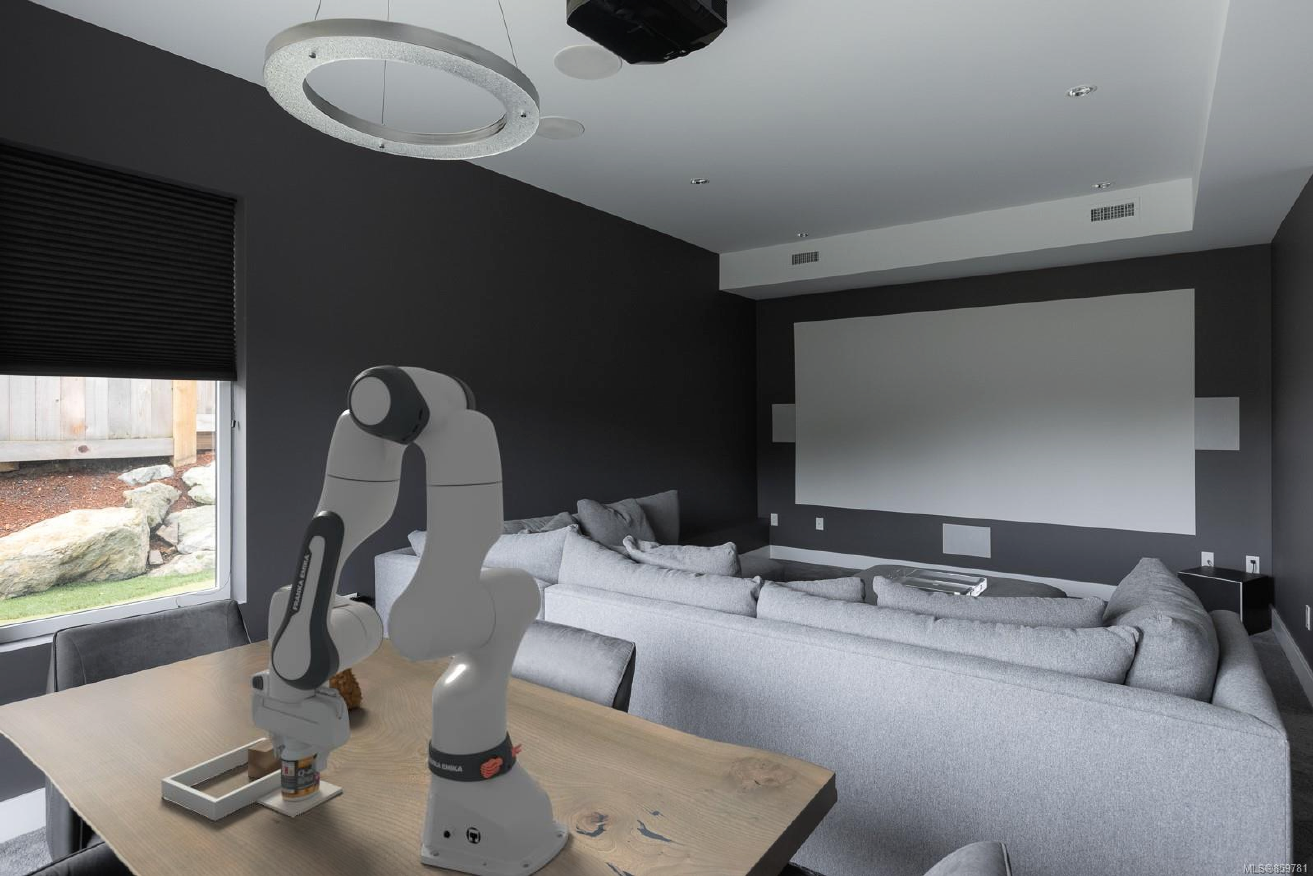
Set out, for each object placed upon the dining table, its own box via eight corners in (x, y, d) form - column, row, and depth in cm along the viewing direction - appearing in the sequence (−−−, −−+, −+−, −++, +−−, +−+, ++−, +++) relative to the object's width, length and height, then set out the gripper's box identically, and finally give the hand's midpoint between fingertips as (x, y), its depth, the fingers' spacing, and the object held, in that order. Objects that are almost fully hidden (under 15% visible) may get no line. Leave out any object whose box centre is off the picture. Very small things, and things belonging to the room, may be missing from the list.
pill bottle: (304, 804, 114) (303, 743, 114) (272, 800, 116) (272, 740, 115) (327, 786, 120) (326, 728, 120) (297, 783, 121) (296, 725, 121)
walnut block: (284, 769, 127) (284, 742, 127) (266, 780, 123) (265, 752, 123) (266, 766, 128) (266, 738, 128) (248, 777, 125) (247, 748, 124)
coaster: (342, 791, 120) (342, 788, 120) (293, 818, 112) (293, 814, 112) (306, 778, 124) (306, 775, 124) (257, 803, 116) (256, 799, 116)
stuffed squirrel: (341, 691, 163) (340, 634, 163) (377, 706, 155) (376, 646, 154) (297, 706, 155) (297, 645, 155) (333, 722, 147) (332, 659, 146)
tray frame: (315, 771, 126) (315, 755, 126) (215, 821, 111) (215, 802, 111) (263, 753, 133) (263, 737, 133) (161, 797, 117) (161, 779, 117)
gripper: (359, 685, 115) (360, 769, 116) (278, 664, 125) (278, 742, 125) (325, 698, 110) (326, 787, 110) (242, 675, 119) (243, 757, 120)
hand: (300, 763), depth 118 cm, fingers open, 8 cm apart
